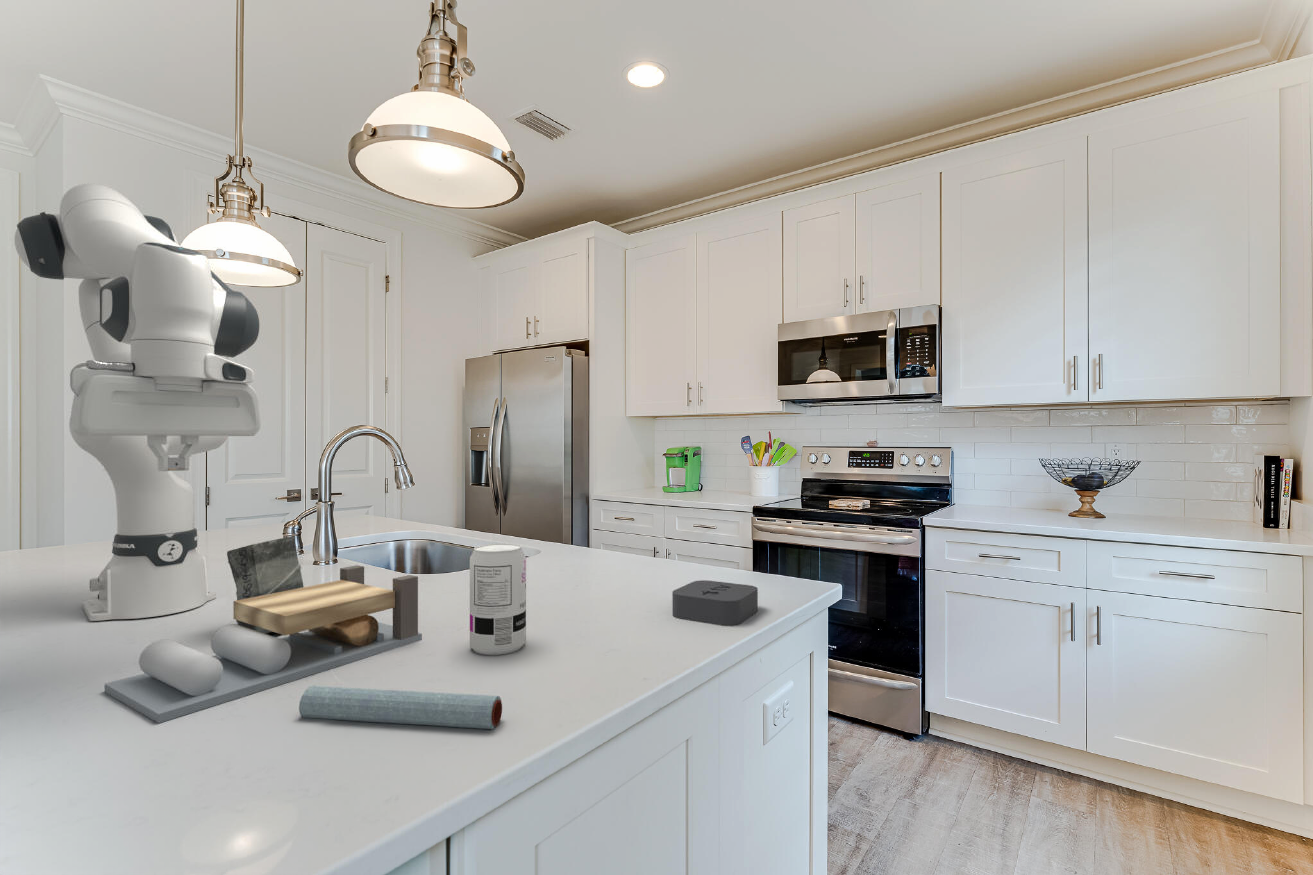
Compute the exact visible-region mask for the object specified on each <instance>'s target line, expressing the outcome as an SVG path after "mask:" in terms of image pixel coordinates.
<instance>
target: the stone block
mask: <svg viewBox="0 0 1313 875" xmlns="http://www.w3.org/2000/svg"><path fill="white" fill-rule="evenodd" d="M226 556H227V560H228V561H227V562H228V565H229V567H230V571H231V574H232V578H233V580H234V583H235V587H236V592H235V596H236V601H237V600H242V599H247V598H252V597H257V596H262V595H267V594H272V593H278V592H283V591H288V590H293V589H298V588H303V587H304V582H303V575H302V571H301V570H302V565H301V564H300V562H299V558H298V552H297V547H296V540H295V536H294V535H292V536H287V537H281V538H277V539H276V538H275V539H272V540H267V541H263V542H258V543H257V542H256V543H252V544H249V545H244V546H241V547H238V548H233V549H231V550H227V551H226ZM235 622H236V625H240V626H243V627H246V628H249V629H252V630H255V631H258V632H261V633H264V634H269V633H272V632H273V631H270V630H267V629H264V628H260V627H257V626H254V625H251V624H248V623H245V622H242V621H239V620H235Z"/></svg>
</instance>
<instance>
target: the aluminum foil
mask: <svg viewBox="0 0 1313 875" xmlns="http://www.w3.org/2000/svg"><path fill="white" fill-rule="evenodd" d="M298 711H299V715H300V716H301V717H302V718H309V719H324V720H325V719H328V720H334V721H335V720H338V721H339V720H340V721H352V722H367V723H368V722H369V723H370V722H371V723H386V724H387V723H388V724H399V725H400V724H403V725H417V726H418V725H419V726H432V727H433V726H434V727H448V728H449V727H450V728H467V729H483V730H494V729H495V728H496V727H497V726H498V725H499V724H500V721H501V719H502V715H503V702H502V699H501V697H500V696H499V695H487V694H486V695H485V694H468V693H454V692H453V693H452V692H451V693H449V692H432V691H431V692H430V691H414V690H413V691H412V690H411V691H410V690H394V689H376V688H375V689H374V688H358V687H357V688H356V687H339V686H325V685H323V686H321V685H312V686H309V687H308V688H306V689H305V690H304V692H303V693H302V695H301V698H300V699H299V706H298Z"/></svg>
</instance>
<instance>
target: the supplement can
mask: <svg viewBox="0 0 1313 875" xmlns="http://www.w3.org/2000/svg"><path fill="white" fill-rule="evenodd" d="M522 546H523V545H521V544H517V543H516V544H515V543H505V542H503V543H488V544H481V545H477V546H475V547H474V548H473V551H472V553H471V555H470V556H469V647H470V648H471V649H472V650H473V651H474V652H475V653H476V654H479V655H483V656H501V655H506V654H510V653H515V652H517V651H518V650H520V649H521V648H522V647H523V645H524V644H526V642H527V556H526V554H525V553H524V550H523V548H522Z"/></svg>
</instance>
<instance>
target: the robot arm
mask: <svg viewBox="0 0 1313 875" xmlns="http://www.w3.org/2000/svg"><path fill="white" fill-rule="evenodd" d="M59 205H60V206H59V213H57V214H56V213H54V214H53V213H52V214H51V213H46V211H42V212H40V213H39V214H35V215H31V216H27V217H25V218H23V219H22V220H20V221H19V222H18V223H17V224H16V230H15V232H14V233H15V234H14V247H15V250H16V252H17V254H18V257H19V258H20V259H21V261H22V263H24V264H25V266H26V267H28V268H29V270H30V272H32V273H33V274H34V275H36V276H38V277H39V278H43V279H49V280H61V281H64V279H75V280H79V279H81V280H82V281H81V282H80V284H79V286H78V304H79V306H78V307H79V312H80V318H81V321H82V325H83V329H84V332H85V335H86V338H87V339H86V340H87V341H88V344H89V348H90V351H91V354H92V356H93V359H91V360H86V362H83V363H81V362H80V363H79V364H77V365H75V366H74V367H73V368H72V369H71V371H70V373H69V386H70V387H69V388H70V389H71V391H72V392H73V394H74V395H73V399H72V404H71V405H72V406H71V411H70V417H69V423H68V424H69V425H68V427H69V432H70V435H71V437H72V439H73V441H74V442H75V444H76V445H77V446H78V447H79V448H80V449H82V450H83V451H84V452H87V453H88V454H90V455H91V456H92V457H93V458H95V459H96V460H97V461H98V463H100V465H101V466H102V467H103V468H104V470H105V471H106V473H107V475H108V476H109V480H111V483H112V485H113V489H114V493H115V501H116V502H115V503H116V522H117V523H116V525H117V526H116V527H117V533H116V534H114V538H113V541H112V550H111V553H112V554H113V555H112V558H111V559H110V560H109V562H108V563H107V564H106V565H105V567H104V568H103V569H102V570H101V572H100V573H99V575H98V576H97V577H95V578H90V579H89V592H98V593H97V597H94V598H90V599H86V600H84V601H83V602H82V609H83V610H84V613H85V615H86V617H87V618H88V621H90V622H98V621H99V622H101V621H107V620H109V621H110V620H130V619H134V620H135V619H144V618H152V617H159V616H166V615H172V614H177V613H181V612H185V611H189V610H190V611H191V610H193V609H197V608H199V607H201V606H203V605H204V604H205V603H206V602H208V601H212V600H215V599H216V598H217V596H216V592H214V591H209V589H208V588H209V586H208V575H207V563H206V558H205V556H203V555H202V554H201V553H199V552H198V551H197V550H196V548H198V540H199V535H198V529H196V528H195V491H194V488H193V486H192V485H191V484H190V483H189V482H188V481H187V480H184V479H183V478H181V477H178V476H177V475H176V474H175V473H174V472H175V471H176V472H177V471H179V472H181V471H189V470H190V458H191V457H192V456H193V455H195V454H196V455H197V454H201V453H205V452H206V453H207V452H210V451H212V450H216V449H219V448H220V447H221V446H222V445H223V444H224V443H225V442H226V441H227V439H228V437H255V436H256V434H257V433H258V432H259V431H260V429H261V408H260V402H259V401H260V400H259V396H258V393H257V391H256V390H255V389H254V387H252V386H251V385H250V384H251V383H253V382H254V379H255V372H254V370H253V369H252V368H250V367H248V366H245V365H242V364H239V363H237V362H235V361H232V360H230V359H226V358H235V357H237V356H238V355H241V354H243V353H244V352H246V351H247V350H249V349H250V348H251V347H252V346H253V345H254V344H255V343H256V341H257V340H258V338H259V333H260V317H259V313H258V311H257V309H256V308H255V306H254V304H253V303H252V302H251V301H250V300H249V298H248V297H247V296H246V295H244V294H243V292H241V291H235V290H232V289H231V288H230V287H229V286H228V285H227V284H226V283H225V282H224V281H222V279H221V278H219V277H218V275H216V274H215V273H214V271H212V270H211V266H210V262H209V259H208V257H207V256H206V255H204V254H202V252H200V251H197V250H195V249H191V248H186V247H183V246H181V245H179V242H178V239H177V236H176V234H175V233H174V232H173V230H172V228H171V227H170V225H169V224H168V223H167V222H166V221H165V220H163V218H159V217H156V216H150V215H145V214H143V213H142V212H141V211H140V210H139V208H138V207H137V206H136V205H135V204H134V203H133V202H131V200H129V199H128V198H127V197H126V196H125V195H123V194H121V193H120V192H118V191H117V190H116V189H113V188H111V187H109V186H106V185H102V184H100V183H99V184H98V183H82V184H79V185H76V186H73V187H71V188H70V189H69V190H67V191H66V192H65V193H64V194H63V196H62V198H61V200H60V204H59ZM224 357H226V358H224ZM84 367H85V368H84ZM170 456H173V457H170Z"/></svg>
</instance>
